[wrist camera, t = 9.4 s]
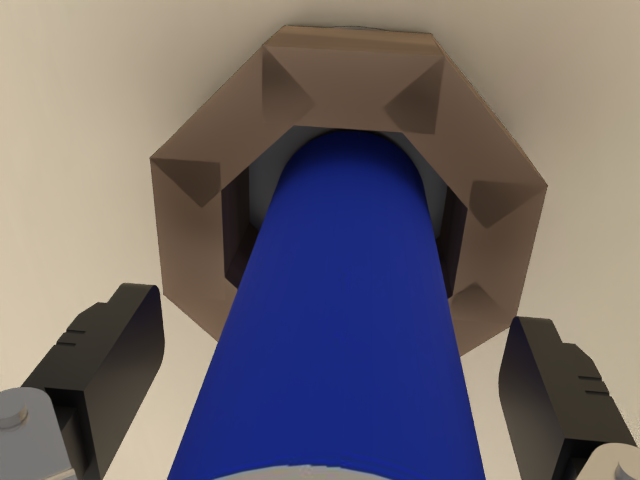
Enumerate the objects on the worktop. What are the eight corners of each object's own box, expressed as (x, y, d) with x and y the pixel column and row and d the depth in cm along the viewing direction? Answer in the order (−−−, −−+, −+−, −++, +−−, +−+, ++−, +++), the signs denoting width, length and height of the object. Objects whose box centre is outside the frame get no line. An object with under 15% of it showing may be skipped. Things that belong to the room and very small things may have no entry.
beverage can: (249, 184, 21) (30, 633, 7) (363, 93, 19) (346, 473, 6) (339, 281, 22) (293, 792, 9) (452, 207, 20) (604, 711, 7)
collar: (530, 35, 18) (577, 63, 14) (474, 320, 23) (495, 403, 19) (190, 16, 19) (137, 37, 15) (207, 297, 24) (171, 373, 20)
